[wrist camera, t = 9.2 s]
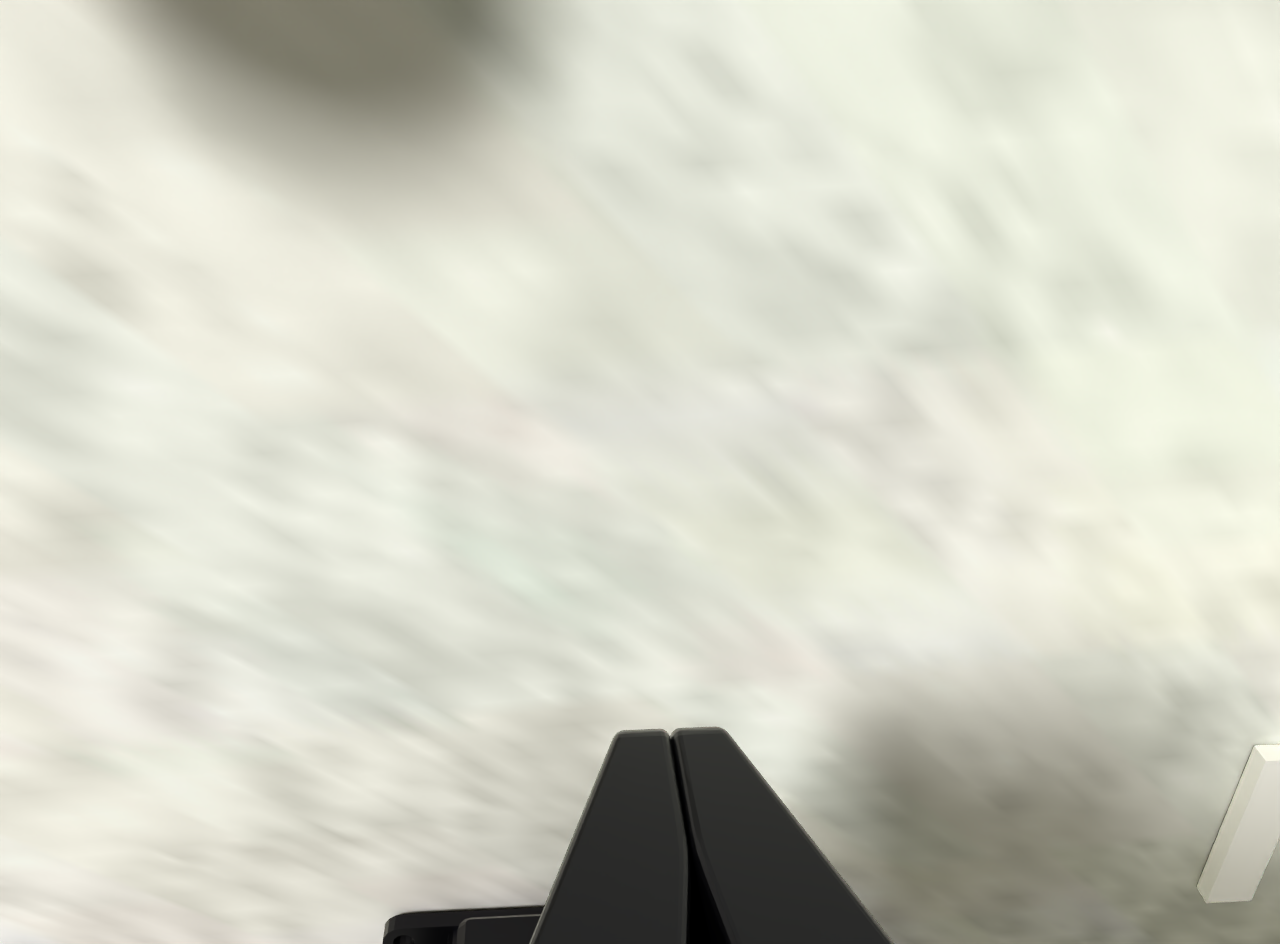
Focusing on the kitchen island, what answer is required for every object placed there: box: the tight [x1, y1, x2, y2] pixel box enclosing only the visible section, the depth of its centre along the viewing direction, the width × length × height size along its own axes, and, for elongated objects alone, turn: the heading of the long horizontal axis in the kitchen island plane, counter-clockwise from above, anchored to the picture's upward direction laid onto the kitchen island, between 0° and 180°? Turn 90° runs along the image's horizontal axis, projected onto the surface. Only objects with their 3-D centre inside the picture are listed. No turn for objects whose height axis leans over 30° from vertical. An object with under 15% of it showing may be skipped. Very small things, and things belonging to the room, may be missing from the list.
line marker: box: [1197, 744, 1280, 903], centre depth 28 cm, size 5×1×1 cm, turn 179°
